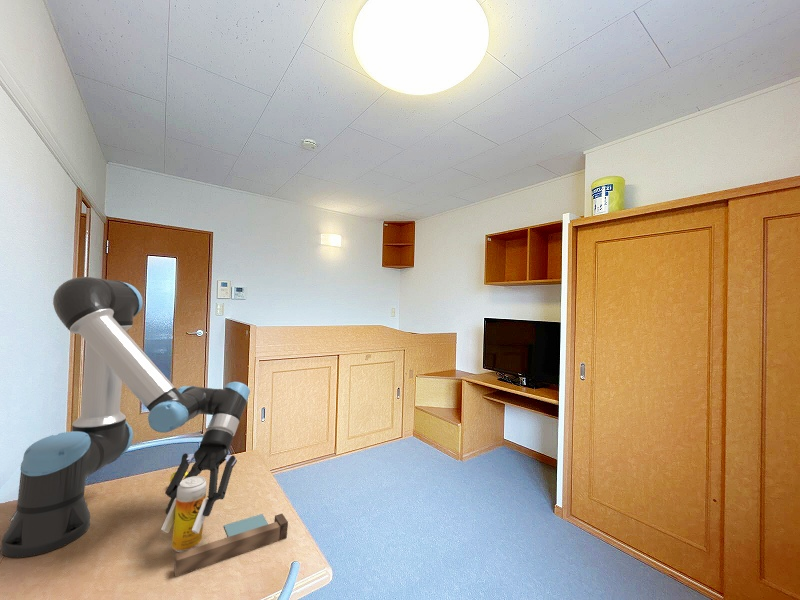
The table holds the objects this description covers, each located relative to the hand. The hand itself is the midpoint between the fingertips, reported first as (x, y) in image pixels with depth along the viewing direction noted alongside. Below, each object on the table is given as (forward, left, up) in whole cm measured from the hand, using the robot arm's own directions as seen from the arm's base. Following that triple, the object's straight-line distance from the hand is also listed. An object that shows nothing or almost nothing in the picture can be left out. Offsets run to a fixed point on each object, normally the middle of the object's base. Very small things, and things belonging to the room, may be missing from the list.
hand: (180, 531), depth 78 cm
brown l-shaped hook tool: (+11, -2, -7) cm, 14 cm away
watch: (+3, +36, -7) cm, 37 cm away
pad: (+16, +4, -7) cm, 18 cm away
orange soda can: (+2, +3, -6) cm, 7 cm away
